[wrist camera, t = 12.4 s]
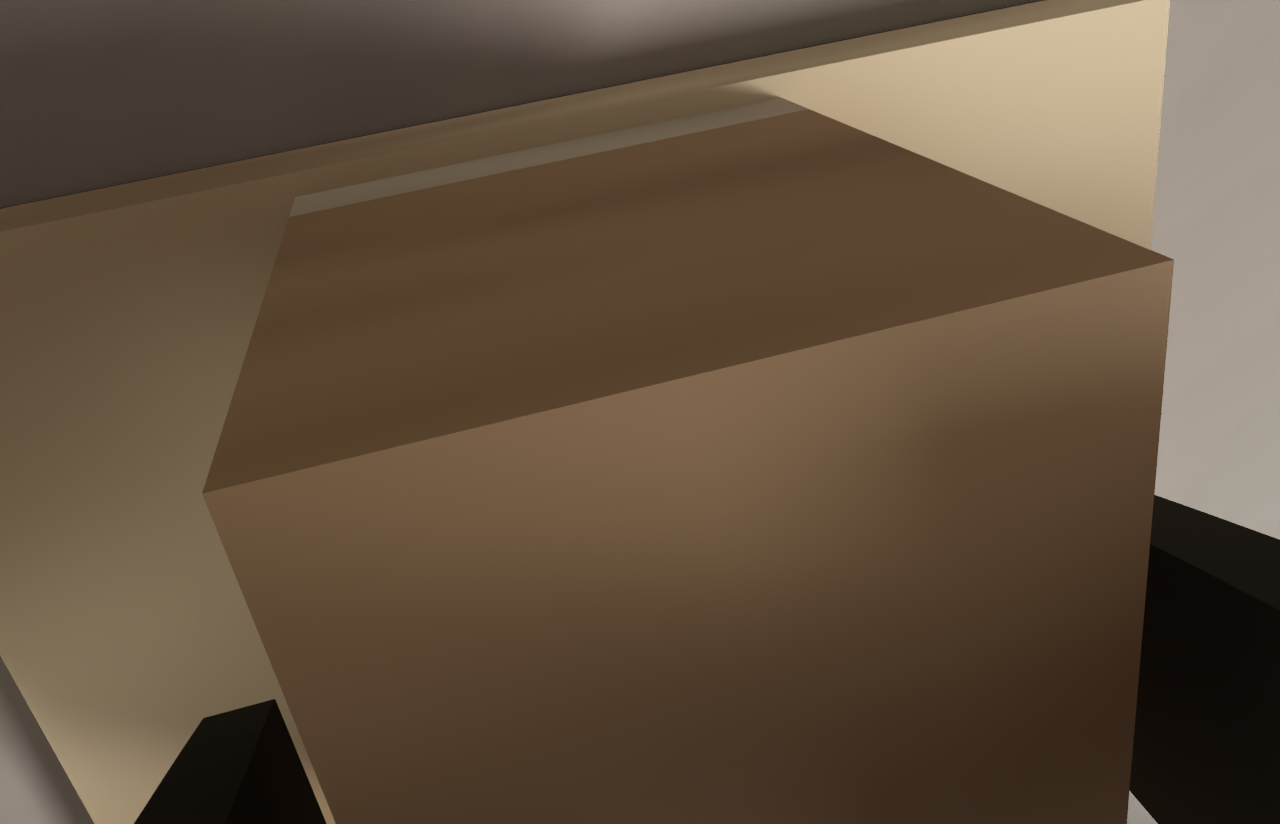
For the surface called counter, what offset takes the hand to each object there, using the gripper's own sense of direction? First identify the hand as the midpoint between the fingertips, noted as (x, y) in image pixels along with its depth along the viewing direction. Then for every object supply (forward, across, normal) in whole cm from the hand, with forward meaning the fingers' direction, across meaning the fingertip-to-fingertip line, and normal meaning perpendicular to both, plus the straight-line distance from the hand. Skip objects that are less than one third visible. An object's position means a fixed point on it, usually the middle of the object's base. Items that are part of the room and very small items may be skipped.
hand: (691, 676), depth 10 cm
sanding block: (+3, 0, 0) cm, 3 cm away
